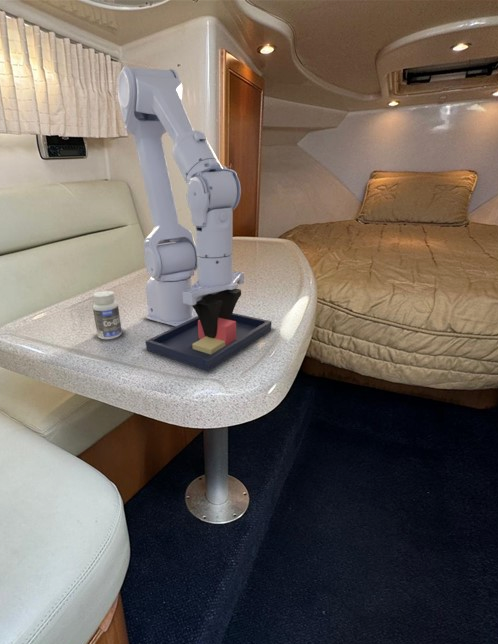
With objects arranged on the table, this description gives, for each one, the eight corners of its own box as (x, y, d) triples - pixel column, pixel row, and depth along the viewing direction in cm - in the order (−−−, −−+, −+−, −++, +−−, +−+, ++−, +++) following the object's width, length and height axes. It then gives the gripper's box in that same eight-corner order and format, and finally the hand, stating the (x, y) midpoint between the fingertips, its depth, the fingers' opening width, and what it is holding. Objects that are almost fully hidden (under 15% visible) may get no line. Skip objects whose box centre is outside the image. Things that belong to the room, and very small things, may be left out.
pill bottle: (107, 342, 68) (99, 299, 64) (93, 336, 71) (85, 294, 68) (127, 333, 71) (121, 292, 67) (112, 328, 74) (106, 288, 71)
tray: (146, 350, 64) (145, 340, 63) (213, 316, 77) (213, 308, 76) (208, 371, 55) (207, 361, 55) (271, 330, 68) (271, 321, 68)
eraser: (198, 338, 65) (197, 320, 64) (209, 332, 68) (208, 315, 66) (225, 346, 62) (225, 327, 60) (236, 339, 64) (236, 321, 62)
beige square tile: (192, 349, 62) (192, 343, 61) (206, 341, 64) (206, 335, 64) (211, 354, 59) (211, 349, 59) (225, 346, 62) (225, 340, 61)
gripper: (206, 266, 51) (209, 353, 57) (259, 248, 61) (257, 324, 66) (170, 261, 55) (176, 343, 61) (224, 245, 65) (225, 317, 71)
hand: (216, 332), depth 64 cm, fingers closed on eraser, 3 cm apart
